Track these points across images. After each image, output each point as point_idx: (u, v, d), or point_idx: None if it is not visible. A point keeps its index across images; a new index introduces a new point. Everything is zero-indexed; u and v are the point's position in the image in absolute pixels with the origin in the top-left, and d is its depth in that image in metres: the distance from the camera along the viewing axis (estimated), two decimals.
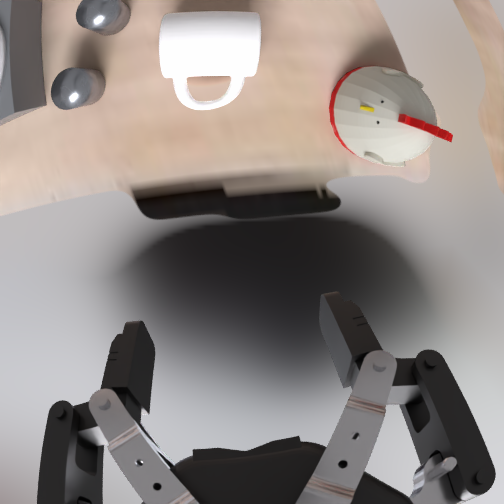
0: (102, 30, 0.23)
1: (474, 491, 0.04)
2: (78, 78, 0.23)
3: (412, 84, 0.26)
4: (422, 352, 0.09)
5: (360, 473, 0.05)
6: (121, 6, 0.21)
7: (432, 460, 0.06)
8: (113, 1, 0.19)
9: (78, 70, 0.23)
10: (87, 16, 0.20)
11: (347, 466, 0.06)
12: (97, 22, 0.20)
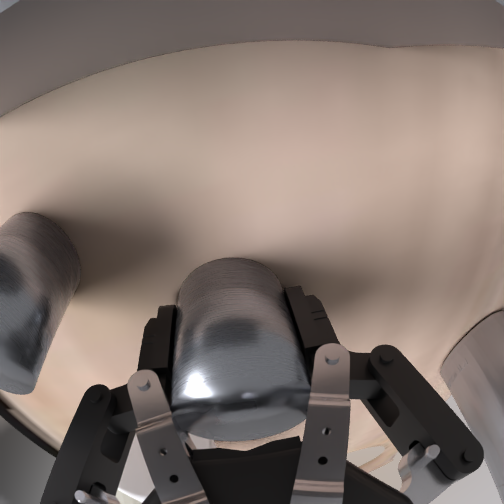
0: None
1: (466, 470, 0.05)
2: (12, 379, 0.07)
3: None
4: (375, 349, 0.09)
5: (343, 465, 0.06)
6: None
7: (413, 451, 0.06)
8: (256, 435, 0.10)
9: (30, 382, 0.07)
10: (219, 405, 0.08)
11: (327, 461, 0.06)
12: (190, 422, 0.09)
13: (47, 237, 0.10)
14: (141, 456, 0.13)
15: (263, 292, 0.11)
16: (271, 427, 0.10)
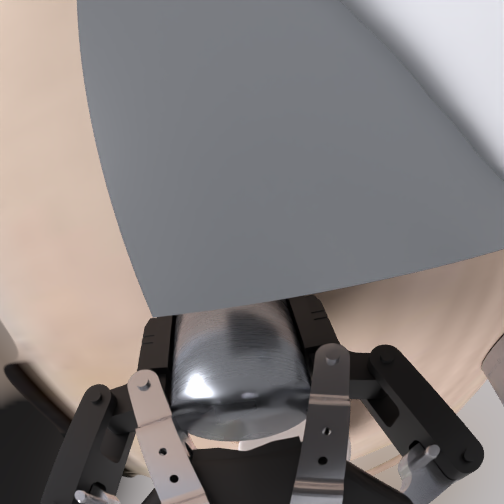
0: None
1: (466, 470, 0.05)
2: (270, 427, 0.10)
3: None
4: (375, 349, 0.09)
5: (343, 465, 0.06)
6: None
7: (413, 451, 0.06)
8: None
9: (295, 423, 0.10)
10: None
11: (327, 462, 0.06)
12: None
13: None
14: None
15: None
16: None
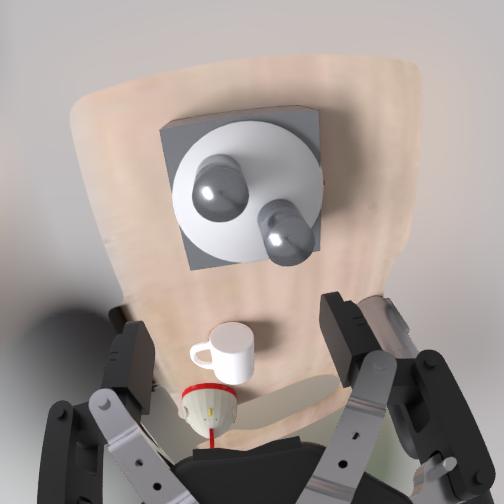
0: (262, 236, 0.31)
1: (474, 491, 0.04)
2: (231, 210, 0.26)
3: (230, 423, 0.62)
4: (422, 352, 0.09)
5: (360, 473, 0.05)
6: None
7: (432, 460, 0.06)
8: (293, 262, 0.30)
9: (242, 209, 0.26)
10: (283, 237, 0.28)
11: (347, 466, 0.06)
12: (272, 249, 0.29)
13: (237, 163, 0.29)
14: (229, 341, 0.50)
15: (294, 208, 0.31)
16: (299, 256, 0.30)
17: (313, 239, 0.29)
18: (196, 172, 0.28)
